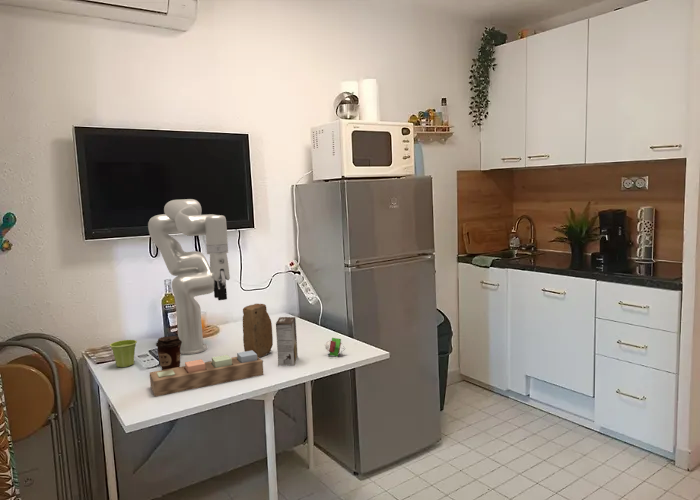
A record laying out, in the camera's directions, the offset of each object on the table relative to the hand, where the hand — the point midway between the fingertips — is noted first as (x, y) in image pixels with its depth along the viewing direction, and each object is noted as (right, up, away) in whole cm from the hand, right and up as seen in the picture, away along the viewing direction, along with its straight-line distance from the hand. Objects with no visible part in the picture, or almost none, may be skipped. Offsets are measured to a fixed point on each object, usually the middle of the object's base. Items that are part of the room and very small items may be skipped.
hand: (220, 298), depth 193 cm
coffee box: (+24, -24, +4) cm, 35 cm away
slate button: (+11, -23, -7) cm, 27 cm away
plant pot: (-38, -26, +7) cm, 47 cm away
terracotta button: (-5, -24, -15) cm, 29 cm away
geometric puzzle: (+42, -23, +10) cm, 49 cm away
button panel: (-1, -27, -13) cm, 30 cm away
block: (+12, -24, +14) cm, 30 cm away
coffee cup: (-17, -27, -4) cm, 32 cm away
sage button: (+3, -24, -11) cm, 26 cm away
